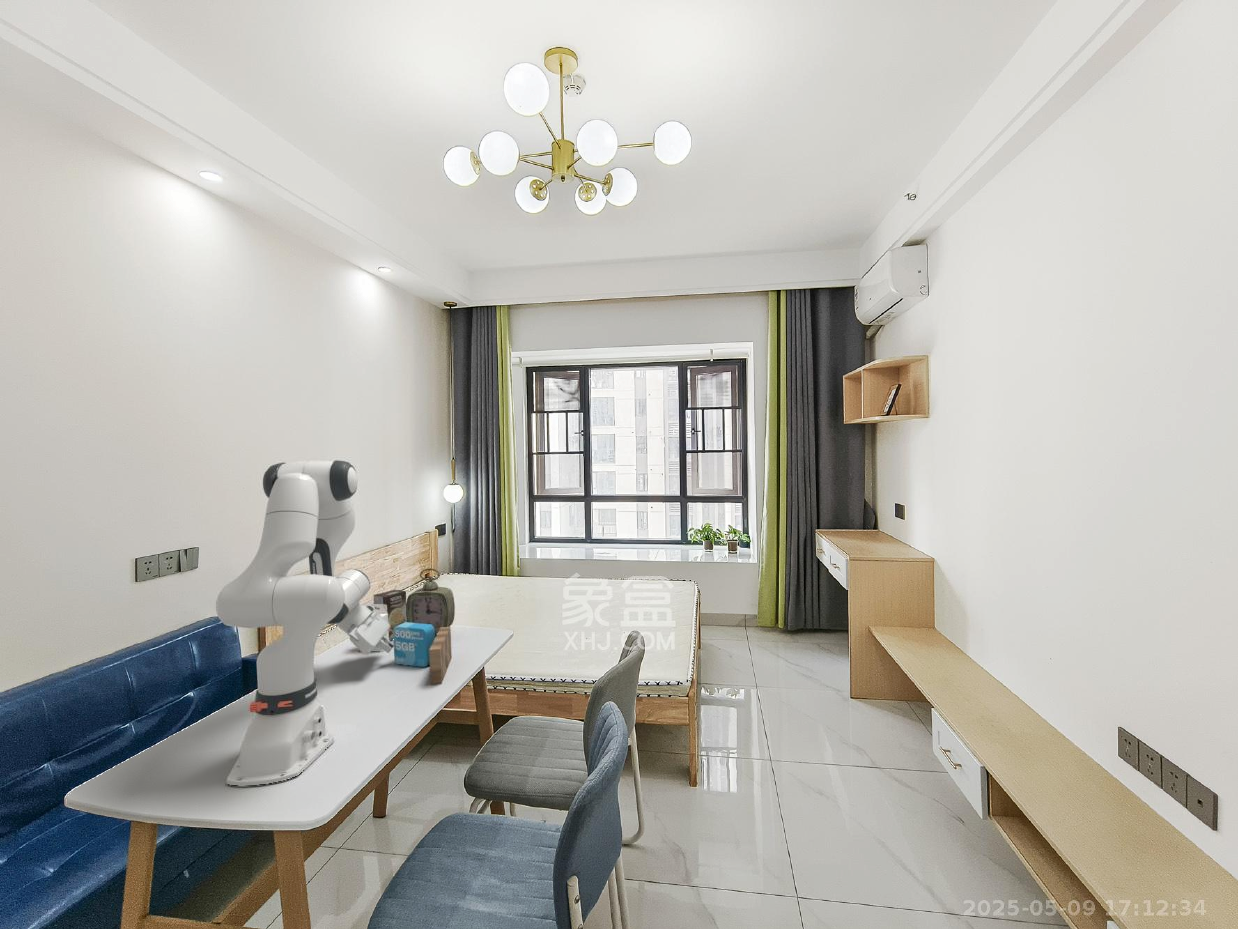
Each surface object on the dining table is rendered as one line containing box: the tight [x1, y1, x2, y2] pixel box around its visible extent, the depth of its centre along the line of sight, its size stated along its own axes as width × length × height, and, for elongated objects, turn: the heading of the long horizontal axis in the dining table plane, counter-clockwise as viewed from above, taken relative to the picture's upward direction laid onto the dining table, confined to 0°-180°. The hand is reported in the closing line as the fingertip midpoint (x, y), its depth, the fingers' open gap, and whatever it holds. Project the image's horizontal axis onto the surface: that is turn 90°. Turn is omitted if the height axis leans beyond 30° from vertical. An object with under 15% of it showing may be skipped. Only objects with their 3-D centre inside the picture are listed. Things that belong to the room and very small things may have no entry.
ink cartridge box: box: [358, 603, 389, 652], centre depth 193 cm, size 9×5×15 cm, turn 84°
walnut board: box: [429, 626, 453, 685], centre depth 173 cm, size 20×3×10 cm, turn 8°
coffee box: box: [372, 589, 407, 642], centre depth 204 cm, size 9×6×16 cm
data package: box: [393, 622, 436, 668], centre depth 179 cm, size 12×4×12 cm, turn 72°
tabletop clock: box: [406, 567, 456, 638], centre depth 201 cm, size 14×9×25 cm, turn 88°
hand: (391, 649), depth 178 cm, fingers closed
